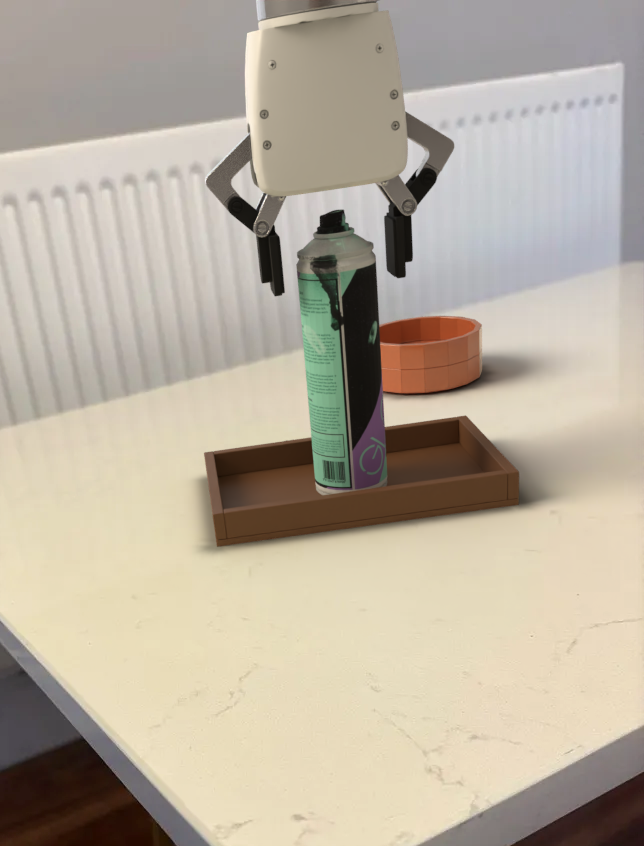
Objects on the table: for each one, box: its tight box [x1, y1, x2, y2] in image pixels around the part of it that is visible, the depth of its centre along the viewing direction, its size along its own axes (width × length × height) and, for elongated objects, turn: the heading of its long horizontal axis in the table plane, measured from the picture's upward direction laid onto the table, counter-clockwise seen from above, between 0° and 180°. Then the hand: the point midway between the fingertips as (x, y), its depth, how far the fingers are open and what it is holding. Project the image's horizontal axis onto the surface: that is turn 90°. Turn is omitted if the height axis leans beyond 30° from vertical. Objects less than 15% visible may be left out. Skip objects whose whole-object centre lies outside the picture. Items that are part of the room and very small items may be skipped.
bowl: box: [379, 315, 483, 395], centre depth 102 cm, size 11×11×5 cm
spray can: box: [296, 209, 387, 495], centre depth 74 cm, size 6×6×20 cm
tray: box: [203, 415, 520, 547], centre depth 78 cm, size 22×14×3 cm, turn 92°
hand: (336, 282), depth 72 cm, fingers open, 7 cm apart
